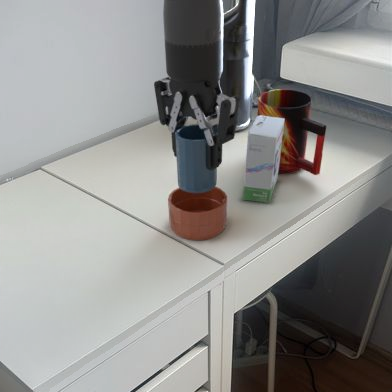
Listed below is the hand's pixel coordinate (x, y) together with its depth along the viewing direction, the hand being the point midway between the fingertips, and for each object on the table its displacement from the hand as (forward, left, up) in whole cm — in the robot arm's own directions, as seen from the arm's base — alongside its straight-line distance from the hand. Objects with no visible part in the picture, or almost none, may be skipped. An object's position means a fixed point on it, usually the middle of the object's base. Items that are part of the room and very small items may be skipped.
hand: (196, 161), depth 76 cm
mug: (-28, -1, -11) cm, 30 cm away
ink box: (-16, +1, -11) cm, 20 cm away
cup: (0, 0, -4) cm, 4 cm away
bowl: (0, 0, -11) cm, 11 cm away
